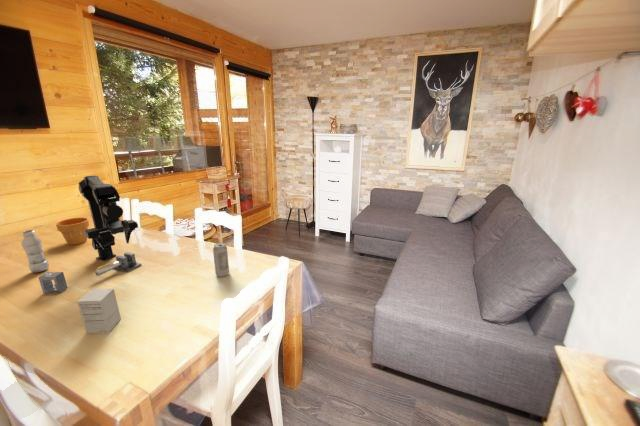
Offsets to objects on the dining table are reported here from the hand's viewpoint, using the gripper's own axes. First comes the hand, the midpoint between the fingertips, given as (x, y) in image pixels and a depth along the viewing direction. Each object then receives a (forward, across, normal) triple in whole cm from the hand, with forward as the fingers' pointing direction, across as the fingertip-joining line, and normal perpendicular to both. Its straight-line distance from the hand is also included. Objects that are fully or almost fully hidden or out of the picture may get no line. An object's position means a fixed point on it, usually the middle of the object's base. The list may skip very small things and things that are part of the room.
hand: (116, 246), depth 129 cm
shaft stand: (+14, -1, +3) cm, 14 cm away
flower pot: (+14, -3, +62) cm, 63 cm away
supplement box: (+14, -17, -37) cm, 43 cm away
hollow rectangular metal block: (+14, -23, +4) cm, 27 cm away
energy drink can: (+14, +29, -38) cm, 49 cm away
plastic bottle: (+14, -23, +32) cm, 42 cm away
